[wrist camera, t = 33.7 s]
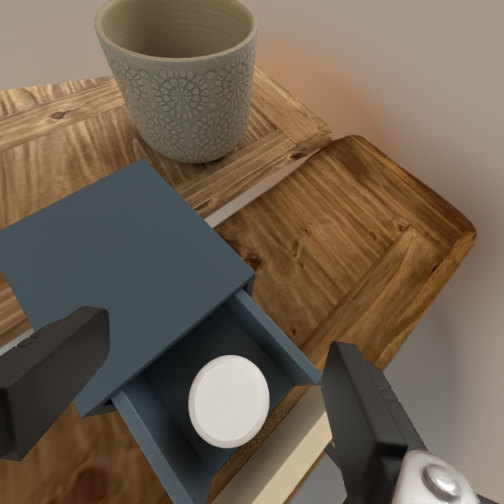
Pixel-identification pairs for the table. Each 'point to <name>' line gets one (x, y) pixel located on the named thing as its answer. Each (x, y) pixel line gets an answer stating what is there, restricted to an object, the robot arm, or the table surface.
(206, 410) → the supplement bottle
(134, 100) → the planter
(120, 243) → the cabinet
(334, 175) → the table surface
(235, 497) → the drawer
